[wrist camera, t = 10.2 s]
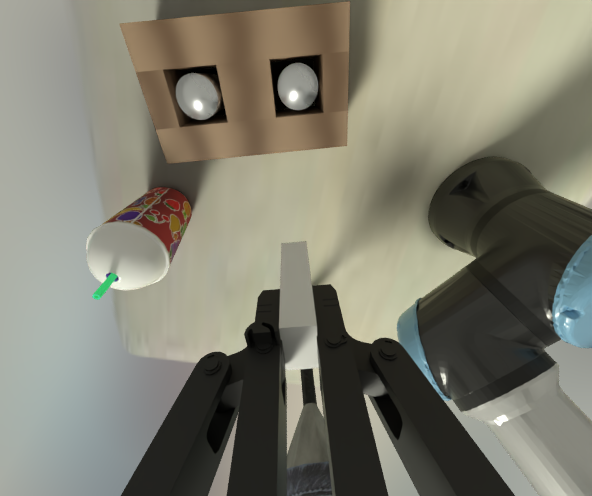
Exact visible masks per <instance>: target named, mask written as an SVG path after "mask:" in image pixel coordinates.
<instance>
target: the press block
mask: <svg viewBox="0 0 592 496" xmlns="http://www.w3.org/2000/svg"><path fill="white" fill-rule="evenodd" d="M120 27H121V30H122V33H123V36H124V39H125V42H126V45H127V48H128V51H129V53H130V56H131V59H132V62H133V65H134V68H135V71H136V74H137V77H138V80H139V83H140V86H141V88H142V91H143V94H144V97H145V100H146V103H147V106H148V109H149V112H150V115H151V118H152V120H153V123H154V126H155V129H156V132H157V135H158V138H159V141H160V144H161V147H162V150H163V153H164V155H165V158H166V161H167V164H171V163H181V162H191V161H201V160H211V159H221V158H231V157H241V156H250V155H260V154H270V153H280V152H290V151H300V150H310V149H320V148H330V147H340V146H347V123H348V75H349V28H350V1H347V2H337V3H327V4H316V5H306V6H296V7H286V8H275V9H265V10H255V11H245V12H234V13H224V14H214V15H204V16H193V17H183V18H173V19H162V20H152V21H142V22H132V23H121V24H120ZM310 58H313V71H314V73H315V75H316V77H317V81H318V92H317V96H316V98H315V100H314V101H315V106H309V107H307V108H305V109H303V110H293V109H290V108H286V109H276V104H275V95H274V86H273V77H272V68H271V62H280V61H290V60H300V59H310ZM209 68H217V71H218V76H219V81H220V86H221V91H222V96H223V101H224V106H225V111H226V114H225V115H215V116H211V117H209V118H207V119H204V120H197V119H194V118H191V117H190V116H188V115H187V114H186V113H184V111H183V110H182V109H181V108H180V106H179V104H178V102H177V98H176V86H177V83H178V81H179V80H180V79H181V78H182V77H183V76H184V75H186V74H188V73H187V71H189V70H199V69H209Z"/></svg>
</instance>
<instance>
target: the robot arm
mask: <svg viewBox="0 0 592 496" xmlns="http://www.w3.org/2000/svg"><path fill="white" fill-rule="evenodd" d="M428 219H429V225H430V228H431V230H432V232H433V233H434V234H435V235H436V236H437V237H438V238H439V239H440V240H441V241H442V242H443V243H444V244H446V245H447V246H449V247H451V248H453V249H456V250H459V251H461V252H464V253H466V254H469V255H472V256H474V257H476V259H475V260H474V261H472V262H471V263H470V264H468V265H467V266H465V267H464V268H463V269H461V270H460V271H459V272H457V273H456V274H455V275H453V276H452V277H451V278H449V279H448V280H446V281H445V282H444V283H442V284H441V285H439V286H438V287H437V288H435V289H434V290H433V291H431V292H430V293H428V294H427V295H426V296H424V297H423V298H419V299H417V300H416V302H415V304H414V305H412V306H411V307H410V308H409V309H408V310H406V311H405V312H404V313H403V314H402V315H401V316H400V317H399V319H398V322H397V332H398V333H397V335H398V340H399V342H397V341H395V340H393V339H389V338H379V339H377V340H375V341H374V342H373V343H372V344H369V343H364V342H360V341H357V340H355V339H353V338H352V337H351V336H350V335H349V334H348V333H347V332H346V329H345V326H344V322H343V318H342V314H341V309H340V306H339V301H338V297H337V293H336V290H335V289H334V288H333V287H332V286H331V284H329V285H317V286H312V282H311V274H310V266H309V258H308V251H307V243H306V241H304V242H292V243H282V245H281V277H280V289H276V290H263V291H262V293H261V294H260V296H259V297H258V302H257V310H256V317H255V322H254V323H252V324H251V325H250V326H249V327H248V328H247V329H246V331H245V333H244V335H245V339H246V343H247V347H246V348H245V349H243V350H242V351H240V352H238V353H235V354H232V355H229V356H227V355H226V354H224V353H222V352H212V353H209V354H207V355H205V356H204V357H203V358H201V359H200V361H199V362H198V363H197V365H196V366H195V368H194V370H193V371H192V373H191V375H190V377H189V378H188V380H187V382H186V384H185V385H184V387H183V389H182V391H181V392H180V394H179V396H178V397H177V399H176V401H175V403H174V404H173V406H172V408H171V410H170V411H169V413H168V415H167V417H166V418H165V420H164V422H163V424H162V425H161V427H160V429H159V430H158V432H157V434H156V436H155V437H154V439H153V441H152V443H151V444H150V446H149V448H148V450H147V451H146V453H145V455H144V456H143V458H142V460H141V462H140V463H139V465H138V467H137V469H136V470H135V472H134V474H133V476H132V477H131V479H130V481H129V483H128V484H127V486H126V488H125V489H124V491H123V493H122V495H121V496H208V493H209V491H210V488H211V485H212V482H213V480H214V477H215V475H216V472H217V469H218V466H219V464H220V461H221V458H222V456H223V453H224V450H225V447H226V445H227V442H228V439H229V436H230V434H231V431H232V428H233V426H234V423H235V420H236V418H237V415H238V420H237V428H236V434H235V441H234V448H233V456H232V462H231V470H230V477H229V483H228V490H227V496H287V423H286V422H287V420H286V419H287V414H286V413H287V411H286V409H287V405H286V403H287V401H286V400H287V396H286V395H287V392H286V391H287V386H286V377H285V368H286V370H298V369H311V368H319V374H320V390H321V396H322V404H323V414H324V423H325V432H326V441H327V450H328V460H329V469H330V478H331V487H332V496H388V492H387V489H386V484H385V480H384V476H383V472H382V468H381V464H380V460H379V456H378V452H377V447H376V443H375V439H374V435H373V431H372V427H371V423H370V419H369V415H368V411H367V407H366V403H365V398H364V394H366V395H368V396H369V398H370V400H371V402H372V404H373V406H374V408H375V410H376V412H377V414H378V416H379V418H380V420H381V422H382V424H383V425H384V427H385V429H386V431H387V433H388V435H389V437H390V439H391V441H392V443H393V445H394V447H395V449H396V451H397V453H398V454H399V457H400V459H401V460H402V462H403V464H404V466H405V468H406V470H407V472H408V474H409V476H410V478H411V480H412V482H413V484H414V486H415V487H416V489H417V491H418V493H419V495H420V496H515V495H514V494H513V492H512V491H511V490H510V488H509V487H508V486H507V484H506V483H505V482H504V481H503V479H502V478H501V477H500V475H499V474H498V472H497V471H496V470H495V469H494V467H493V466H492V464H491V463H490V462H489V461H488V459H487V458H486V457H485V455H484V454H483V453H482V451H481V450H480V448H479V447H478V446H477V444H476V443H475V442H474V440H473V439H472V438H471V437H470V435H469V434H468V432H467V431H466V430H465V428H464V427H463V426H462V424H461V423H460V422H459V421H458V419H457V418H456V416H455V415H454V414H453V412H452V411H451V410H450V409H449V407H448V406H447V404H446V403H445V402H444V400H446V401H449V400H451V399H452V400H453V401H454V402H455V404H456V405H457V407H458V408H459V410H460V411H461V412H462V413H463V414H464V415H466V416H469V417H471V418H474V419H477V420H480V421H482V422H483V423H485V424H486V425H487V426H488V427H489V428H490V430H491V431H492V433H493V434H494V435H495V436H496V438H497V439H498V441H499V442H500V443H501V444H502V446H503V447H504V449H505V450H506V452H507V453H508V454H509V455H510V457H511V458H512V460H513V461H514V462H515V464H516V465H517V466H518V468H519V469H520V470H521V472H522V473H523V474H524V476H525V477H526V478H527V480H528V481H529V483H530V484H531V485H532V487H533V488H534V489H535V491H536V492H537V493H538V495H539V496H592V421H591V420H590V419H589V418H588V417H587V416H586V415H585V414H584V412H583V411H581V409H580V408H579V407H578V406H577V405H576V404H575V403H574V402H573V401H572V400H571V399H570V398H569V397H568V396H567V395H566V394H565V393H564V392H563V390H562V389H561V387H560V386H559V365H558V364H557V362H555V361H554V360H553V359H552V358H551V357H550V356H549V355H548V354H547V353H546V352H545V350H544V348H546V347H547V346H550V345H551V344H553V343H555V342H557V341H559V340H561V339H562V340H564V341H565V342H567V343H570V344H572V345H574V346H577V347H580V348H592V209H590V208H587V207H585V206H583V205H580V204H578V203H575V202H573V201H571V200H568V199H566V198H564V197H561V196H559V195H556V194H554V193H551V192H549V191H547V190H546V189H545V188H544V187H543V186H542V185H541V184H540V182H539V181H538V180H537V179H536V178H535V177H534V176H533V175H532V174H531V172H530V171H529V170H528V169H527V168H526V167H525V166H523V165H521V164H520V163H517V162H515V161H512V160H509V159H506V158H502V157H487V158H482V159H478V160H475V161H473V162H470V163H468V164H466V165H464V166H463V167H461V168H460V169H458V170H457V171H455V172H454V173H453V174H452V175H450V176H449V177H448V178H447V179H446V180H445V181H444V182H443V184H442V185H441V186H440V187H439V189H438V190H437V192H436V193H435V195H434V197H433V199H432V202H431V204H430V208H429V215H428ZM238 412H239V413H238Z"/></svg>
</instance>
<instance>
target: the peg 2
mask: <svg viewBox="0 0 592 496" xmlns="http://www.w3.org/2000/svg"><path fill="white" fill-rule="evenodd" d="M317 92H318V81H317V77H316V75H315V73H314V71H313V70H312V69H311V68H310V67H309V66H307V65H305V64H303V63H293V64H291V65H289V66H287V67H286V68H285V69H284V70H283V71H282V72H281V73H280V75H279V78H278V93H279V96H280V99H281V100H282V102H283V103H284V104H285V105H286V106H287V107H289V108H290V109H293V110H303V109H305V108H307V107H309V106H310V105H311V104H312V103H313V101H314V100H315V98H316V96H317Z"/></svg>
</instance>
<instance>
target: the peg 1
mask: <svg viewBox="0 0 592 496" xmlns="http://www.w3.org/2000/svg"><path fill="white" fill-rule="evenodd" d="M176 98H177V102H178V104H179V106H180V108H181V109H182V110H183V111H184V113H186V114H187V115H188V116H190V117H191V118H194V119H197V120H204V119H207V118H209V117H211V116H213V115H214V114H216V113H217V112H219V111H220V110H222V109H223V108H225V106H224V101H223V96H222V91H221V86H220V81H219V76H217V75H215V74H207V73H190V74H186V75H184V76H183V77H182V78H181V79H180V80H179V81H178V83H177V86H176Z"/></svg>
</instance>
